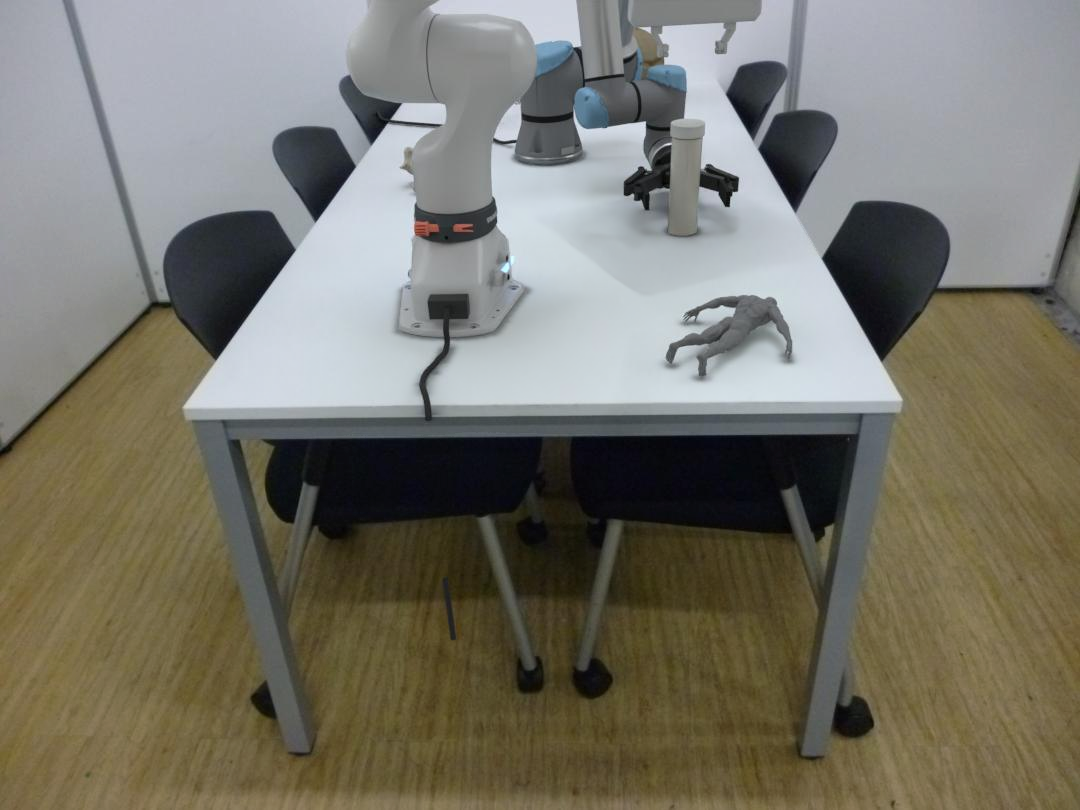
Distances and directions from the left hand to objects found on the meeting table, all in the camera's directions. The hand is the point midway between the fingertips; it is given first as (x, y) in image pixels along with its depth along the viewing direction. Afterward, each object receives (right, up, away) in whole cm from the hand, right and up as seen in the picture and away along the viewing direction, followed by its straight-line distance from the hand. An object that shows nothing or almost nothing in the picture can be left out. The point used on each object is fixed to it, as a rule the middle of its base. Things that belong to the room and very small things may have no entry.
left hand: (691, 55), depth 131 cm
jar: (+1, -24, +16) cm, 29 cm away
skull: (0, +30, +101) cm, 105 cm away
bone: (-47, -10, +41) cm, 64 cm away
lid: (0, -9, +6) cm, 11 cm away
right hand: (+1, -21, +10) cm, 23 cm away
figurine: (+1, -47, -20) cm, 51 cm away
